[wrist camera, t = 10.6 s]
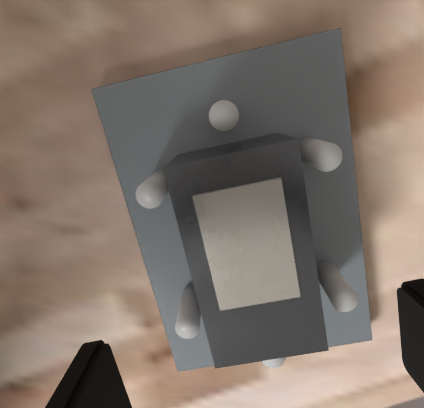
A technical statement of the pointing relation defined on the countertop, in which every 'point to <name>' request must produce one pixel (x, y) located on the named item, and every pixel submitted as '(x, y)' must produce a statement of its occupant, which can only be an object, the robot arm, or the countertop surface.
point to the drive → (250, 248)
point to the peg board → (232, 132)
